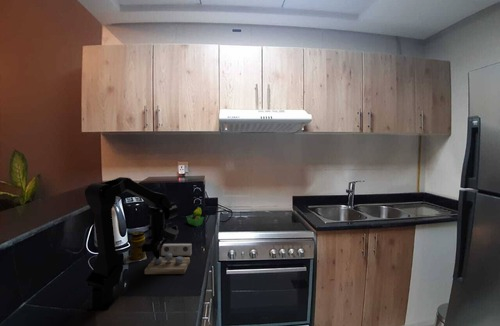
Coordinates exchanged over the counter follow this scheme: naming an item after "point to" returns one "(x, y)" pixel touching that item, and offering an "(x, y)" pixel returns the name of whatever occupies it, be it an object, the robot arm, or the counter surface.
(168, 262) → the button mid
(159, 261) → the button left
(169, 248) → the white flat bar
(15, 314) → the counter surface
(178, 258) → the button right
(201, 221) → the fruit basket
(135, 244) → the condiment
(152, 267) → the board
